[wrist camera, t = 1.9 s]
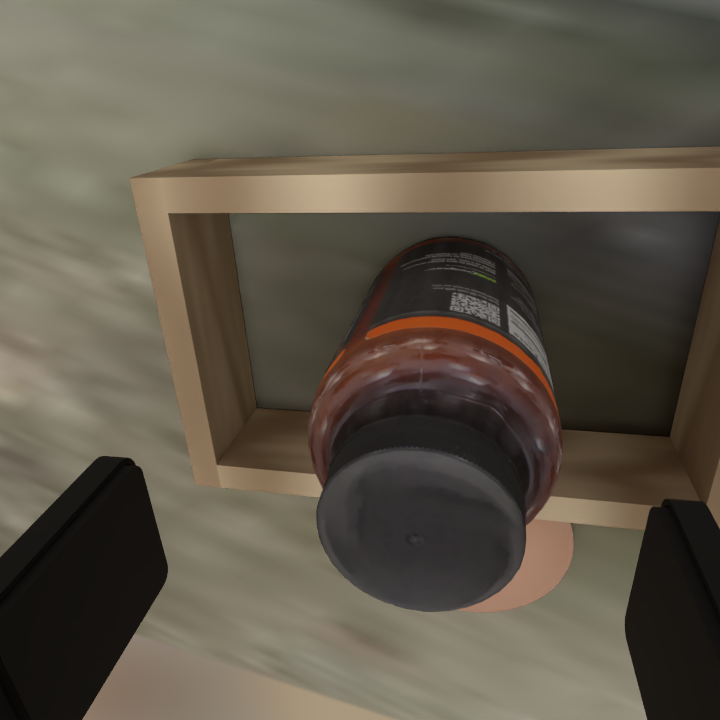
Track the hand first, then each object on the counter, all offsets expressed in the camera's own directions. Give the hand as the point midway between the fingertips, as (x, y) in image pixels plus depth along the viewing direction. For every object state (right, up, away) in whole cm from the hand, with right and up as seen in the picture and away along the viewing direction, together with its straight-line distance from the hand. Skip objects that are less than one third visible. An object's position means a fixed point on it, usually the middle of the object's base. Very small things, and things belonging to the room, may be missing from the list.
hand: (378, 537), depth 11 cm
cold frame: (+3, +5, +10) cm, 11 cm away
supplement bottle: (+3, +5, +10) cm, 12 cm away
